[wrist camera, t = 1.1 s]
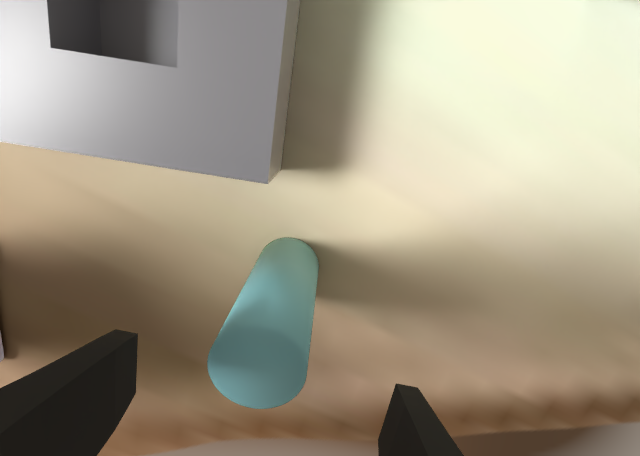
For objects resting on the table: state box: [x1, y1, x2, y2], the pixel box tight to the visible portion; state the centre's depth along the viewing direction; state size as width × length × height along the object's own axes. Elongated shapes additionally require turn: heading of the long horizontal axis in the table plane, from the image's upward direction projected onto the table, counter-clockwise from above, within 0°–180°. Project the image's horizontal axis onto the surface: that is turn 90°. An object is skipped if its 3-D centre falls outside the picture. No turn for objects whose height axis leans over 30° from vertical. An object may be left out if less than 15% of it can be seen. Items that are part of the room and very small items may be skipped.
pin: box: [207, 238, 319, 409], centre depth 15 cm, size 3×3×8 cm
